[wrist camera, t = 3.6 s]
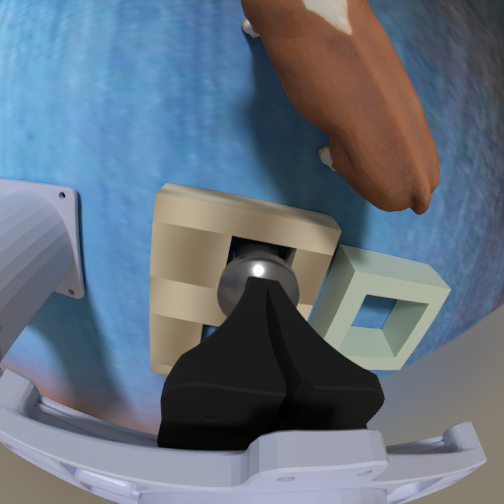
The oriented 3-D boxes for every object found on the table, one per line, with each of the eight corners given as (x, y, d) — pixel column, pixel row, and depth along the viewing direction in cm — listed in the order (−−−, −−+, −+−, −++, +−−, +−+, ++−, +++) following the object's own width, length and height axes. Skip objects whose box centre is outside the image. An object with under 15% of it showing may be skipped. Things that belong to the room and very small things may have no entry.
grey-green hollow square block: (303, 333, 19) (309, 366, 17) (339, 243, 16) (355, 270, 14) (386, 341, 20) (399, 369, 17) (429, 264, 17) (451, 289, 14)
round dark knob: (220, 274, 17) (211, 321, 13) (231, 217, 15) (224, 254, 12) (280, 285, 17) (286, 332, 14) (297, 230, 16) (310, 270, 12)
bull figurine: (283, -47, 8) (306, -138, 1) (388, 165, 14) (486, 222, 7) (206, -22, 9) (168, -111, 2) (317, 194, 15) (373, 277, 8)
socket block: (157, 352, 20) (151, 371, 19) (167, 182, 15) (155, 193, 13) (272, 372, 21) (274, 392, 20) (332, 216, 15) (341, 230, 14)
